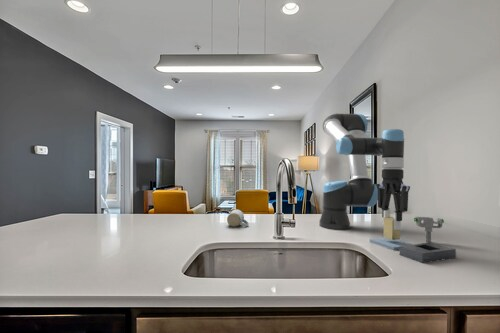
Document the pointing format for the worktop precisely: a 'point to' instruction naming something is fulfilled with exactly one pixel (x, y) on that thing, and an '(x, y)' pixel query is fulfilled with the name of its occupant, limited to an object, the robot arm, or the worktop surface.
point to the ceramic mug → (236, 218)
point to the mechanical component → (428, 225)
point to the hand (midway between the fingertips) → (391, 227)
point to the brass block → (390, 229)
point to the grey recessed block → (427, 252)
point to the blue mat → (389, 243)
